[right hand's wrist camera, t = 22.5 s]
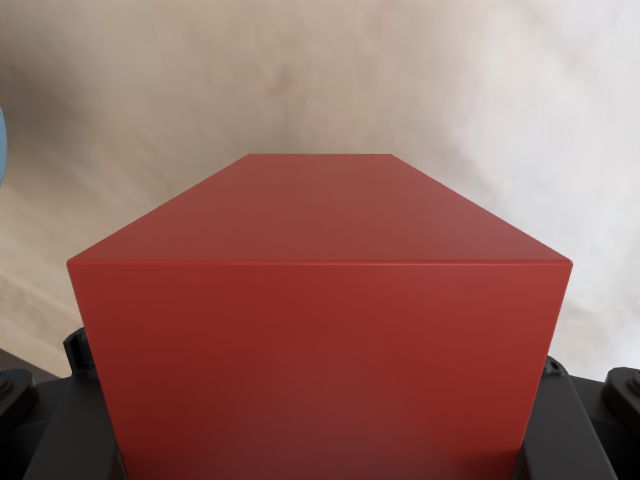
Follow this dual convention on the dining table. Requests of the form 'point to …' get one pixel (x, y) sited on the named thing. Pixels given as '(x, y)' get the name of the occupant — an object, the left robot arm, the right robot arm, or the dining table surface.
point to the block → (319, 326)
